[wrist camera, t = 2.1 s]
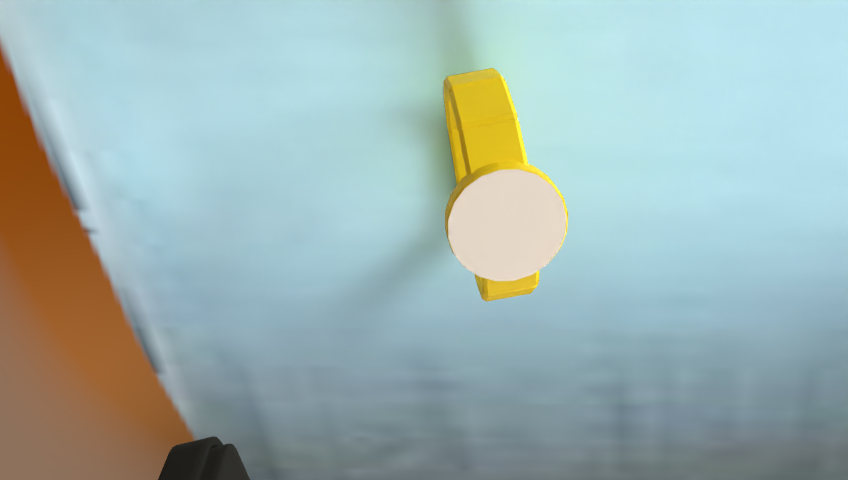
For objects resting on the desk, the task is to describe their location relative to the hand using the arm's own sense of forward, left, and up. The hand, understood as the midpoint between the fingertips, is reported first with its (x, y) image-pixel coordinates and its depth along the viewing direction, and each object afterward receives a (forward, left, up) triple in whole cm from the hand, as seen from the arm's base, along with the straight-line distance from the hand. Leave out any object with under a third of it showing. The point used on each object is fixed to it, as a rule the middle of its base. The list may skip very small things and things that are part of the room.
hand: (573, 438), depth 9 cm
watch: (0, 0, -13) cm, 13 cm away
